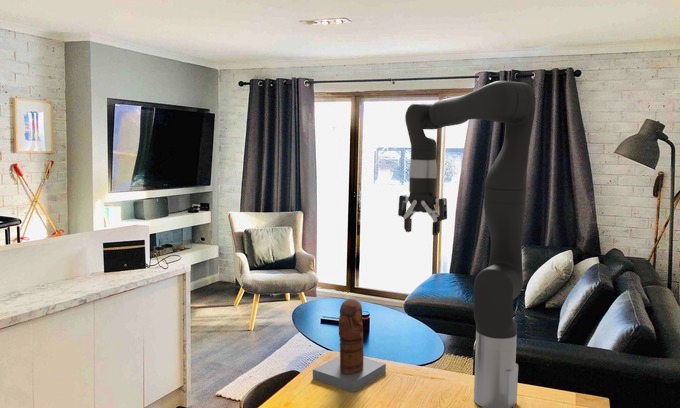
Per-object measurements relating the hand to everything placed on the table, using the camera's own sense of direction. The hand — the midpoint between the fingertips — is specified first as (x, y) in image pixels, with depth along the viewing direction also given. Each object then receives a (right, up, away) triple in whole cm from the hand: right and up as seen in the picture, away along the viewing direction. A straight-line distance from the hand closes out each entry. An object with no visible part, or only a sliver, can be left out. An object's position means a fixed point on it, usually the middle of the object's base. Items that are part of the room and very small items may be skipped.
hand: (421, 233), depth 156 cm
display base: (-20, -37, -10) cm, 44 cm away
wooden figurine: (-20, -35, -10) cm, 41 cm away
